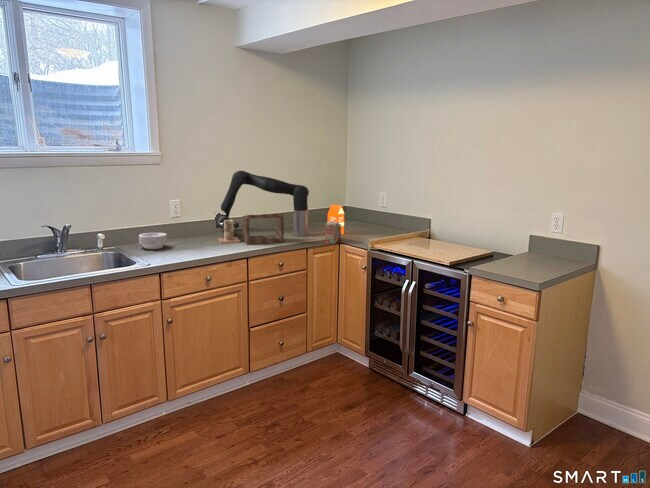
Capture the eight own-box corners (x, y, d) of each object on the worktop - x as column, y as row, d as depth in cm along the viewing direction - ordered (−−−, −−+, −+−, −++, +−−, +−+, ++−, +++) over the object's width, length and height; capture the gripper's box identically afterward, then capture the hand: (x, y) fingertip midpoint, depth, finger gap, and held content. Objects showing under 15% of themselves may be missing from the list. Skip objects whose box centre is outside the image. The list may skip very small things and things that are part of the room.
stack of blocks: (331, 236, 325) (332, 218, 323) (341, 237, 324) (341, 219, 321) (324, 243, 305) (325, 224, 302) (334, 244, 304) (335, 224, 301)
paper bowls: (157, 243, 291) (157, 230, 289) (172, 247, 282) (172, 234, 280) (134, 247, 279) (133, 234, 278) (148, 252, 270) (148, 238, 268)
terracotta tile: (236, 238, 312) (236, 237, 312) (240, 242, 301) (240, 240, 301) (217, 239, 308) (217, 237, 308) (220, 243, 297) (220, 241, 297)
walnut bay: (278, 238, 314) (278, 211, 310) (283, 242, 303) (283, 214, 299) (243, 240, 305) (242, 212, 302) (247, 244, 295) (246, 215, 291)
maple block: (232, 238, 307) (231, 219, 305) (233, 240, 303) (233, 221, 300) (224, 238, 306) (223, 220, 303) (225, 240, 301) (225, 221, 298)
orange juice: (337, 235, 329) (338, 206, 325) (326, 233, 334) (327, 205, 330) (343, 234, 335) (344, 205, 331) (333, 232, 340) (334, 204, 336)
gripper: (213, 217, 313) (217, 221, 298) (235, 216, 318) (240, 220, 303) (213, 228, 314) (217, 233, 300) (235, 227, 319) (240, 232, 305)
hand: (229, 227), depth 301 cm, fingers open, 8 cm apart
